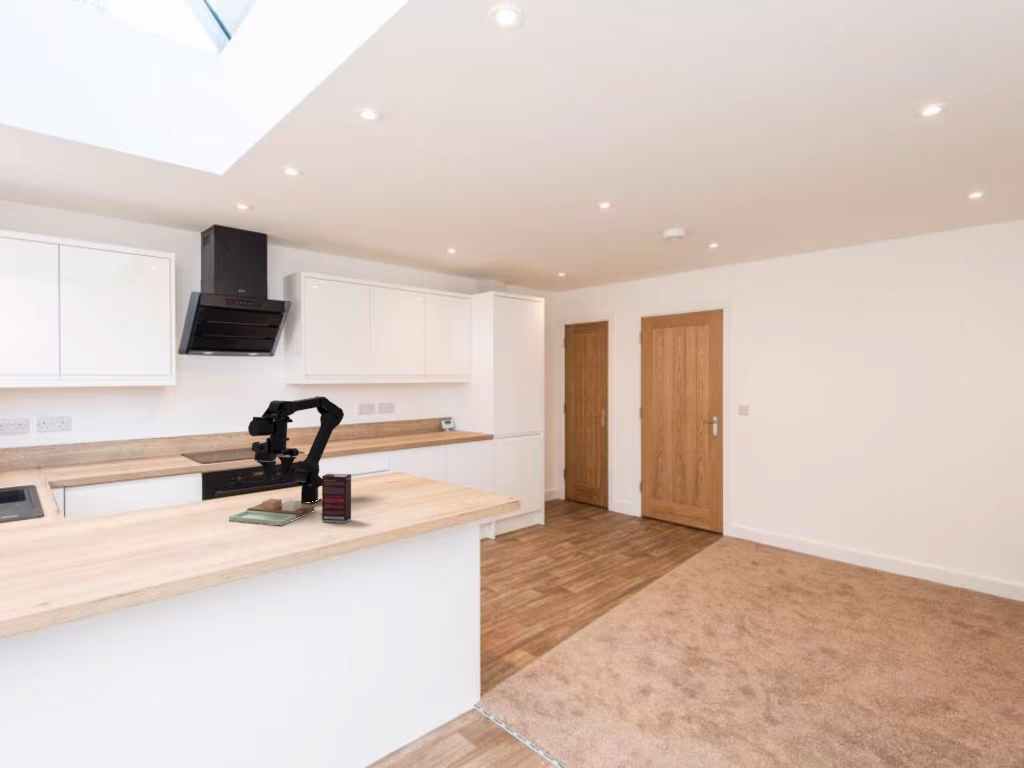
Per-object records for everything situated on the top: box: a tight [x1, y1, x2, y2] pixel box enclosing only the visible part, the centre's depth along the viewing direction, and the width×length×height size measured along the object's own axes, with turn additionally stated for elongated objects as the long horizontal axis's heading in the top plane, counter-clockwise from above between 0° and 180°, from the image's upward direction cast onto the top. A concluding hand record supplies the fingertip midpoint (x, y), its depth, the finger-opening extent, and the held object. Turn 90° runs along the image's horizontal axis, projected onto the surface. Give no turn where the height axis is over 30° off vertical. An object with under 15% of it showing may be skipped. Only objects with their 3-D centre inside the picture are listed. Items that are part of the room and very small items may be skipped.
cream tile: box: [282, 499, 302, 511], centre depth 183 cm, size 4×4×2 cm
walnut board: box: [246, 503, 315, 519], centre depth 185 cm, size 10×20×2 cm, turn 77°
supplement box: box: [321, 473, 352, 524], centre depth 176 cm, size 9×5×16 cm, turn 84°
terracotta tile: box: [261, 498, 283, 510], centre depth 184 cm, size 4×4×2 cm
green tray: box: [228, 509, 297, 526], centre depth 176 cm, size 8×20×2 cm, turn 77°
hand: (276, 477), depth 188 cm, fingers open, 9 cm apart
